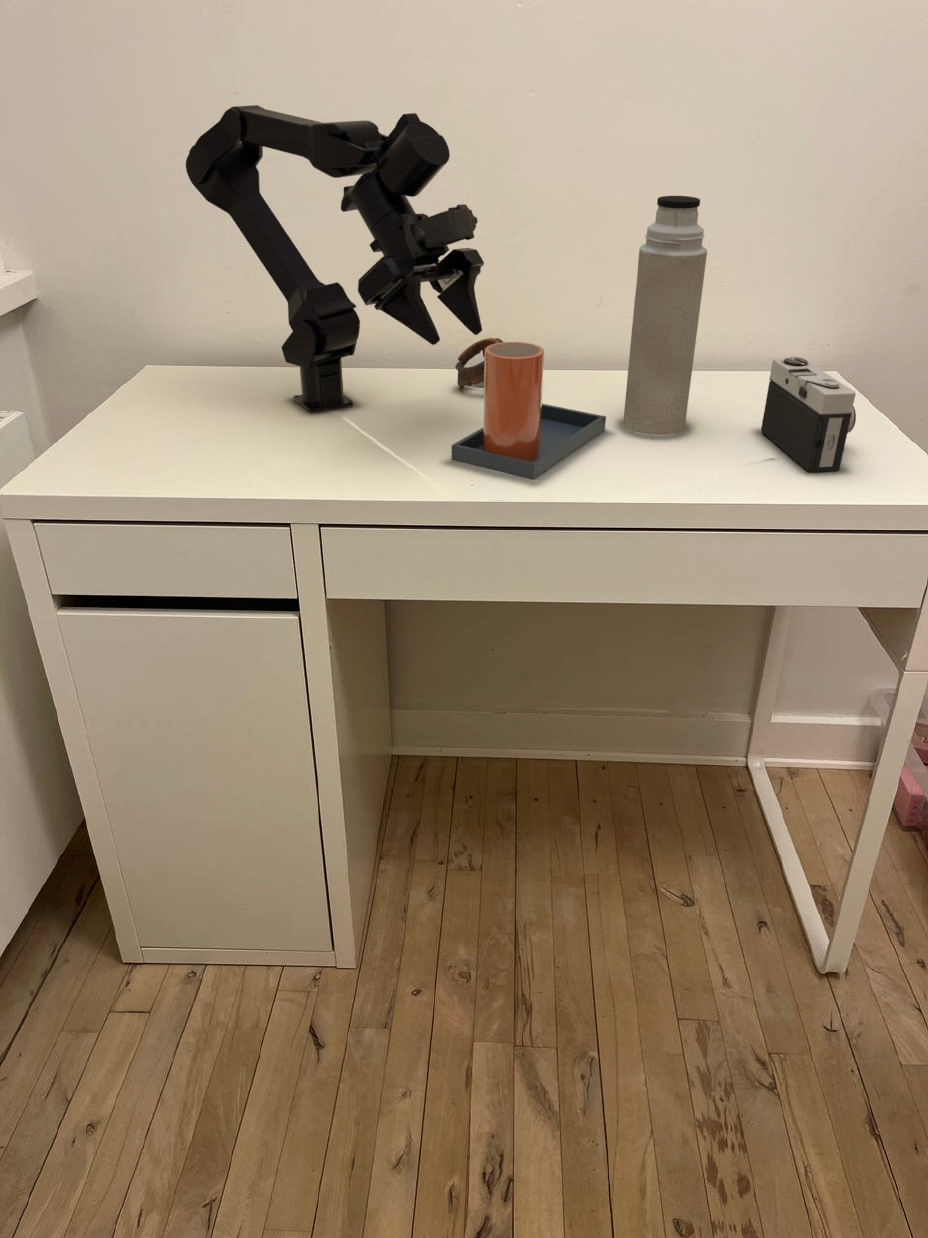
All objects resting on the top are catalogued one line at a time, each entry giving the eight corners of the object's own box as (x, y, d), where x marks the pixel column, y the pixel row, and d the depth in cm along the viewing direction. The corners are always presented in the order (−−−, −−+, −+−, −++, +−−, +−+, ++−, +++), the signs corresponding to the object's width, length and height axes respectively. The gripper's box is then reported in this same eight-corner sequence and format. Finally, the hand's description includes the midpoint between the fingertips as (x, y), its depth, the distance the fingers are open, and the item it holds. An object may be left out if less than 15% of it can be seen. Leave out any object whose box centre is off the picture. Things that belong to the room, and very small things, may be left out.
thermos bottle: (632, 413, 133) (654, 189, 118) (691, 422, 130) (720, 194, 115) (615, 432, 127) (636, 198, 112) (675, 441, 124) (705, 203, 109)
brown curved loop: (531, 404, 137) (505, 357, 132) (472, 428, 141) (444, 383, 136) (533, 358, 146) (509, 312, 141) (477, 382, 149) (451, 338, 144)
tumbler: (476, 447, 120) (478, 343, 114) (529, 443, 122) (533, 339, 115) (491, 468, 115) (493, 359, 108) (546, 463, 116) (552, 355, 109)
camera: (871, 469, 116) (890, 387, 111) (806, 473, 115) (822, 390, 110) (817, 428, 128) (832, 352, 123) (757, 431, 127) (770, 355, 122)
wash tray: (528, 417, 131) (529, 400, 130) (604, 433, 126) (606, 416, 125) (451, 463, 117) (451, 445, 116) (533, 483, 112) (534, 464, 111)
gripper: (388, 176, 103) (462, 307, 104) (481, 177, 117) (545, 291, 118) (325, 241, 110) (395, 362, 111) (420, 234, 124) (481, 341, 125)
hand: (458, 337), depth 116 cm, fingers open, 9 cm apart
